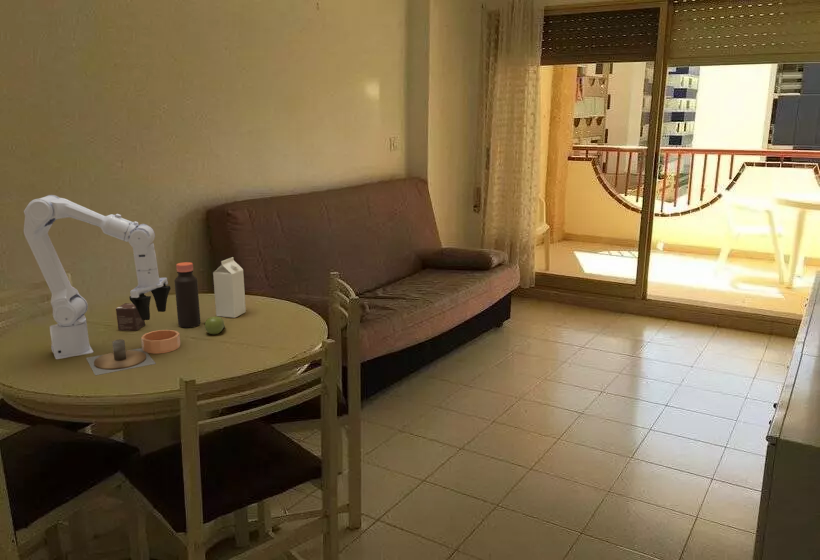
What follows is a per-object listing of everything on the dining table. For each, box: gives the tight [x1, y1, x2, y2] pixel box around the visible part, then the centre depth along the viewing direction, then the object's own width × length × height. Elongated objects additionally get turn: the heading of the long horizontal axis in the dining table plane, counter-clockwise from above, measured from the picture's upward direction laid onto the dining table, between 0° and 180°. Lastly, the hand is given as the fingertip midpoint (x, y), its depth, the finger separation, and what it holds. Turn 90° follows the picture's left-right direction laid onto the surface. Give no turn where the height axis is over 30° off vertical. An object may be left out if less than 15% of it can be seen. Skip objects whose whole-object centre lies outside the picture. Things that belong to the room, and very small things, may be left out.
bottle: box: [174, 261, 201, 329], centre depth 211 cm, size 7×7×20 cm
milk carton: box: [212, 256, 247, 319], centre depth 222 cm, size 7×7×19 cm
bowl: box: [140, 329, 181, 355], centre depth 191 cm, size 10×10×4 cm
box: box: [115, 302, 146, 332], centre depth 209 cm, size 6×6×7 cm
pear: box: [204, 316, 226, 335], centre depth 206 cm, size 6×5×10 cm
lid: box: [94, 339, 146, 370], centre depth 180 cm, size 13×13×6 cm
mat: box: [85, 347, 156, 376], centre depth 181 cm, size 15×15×1 cm
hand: (153, 315), depth 189 cm, fingers open, 7 cm apart
